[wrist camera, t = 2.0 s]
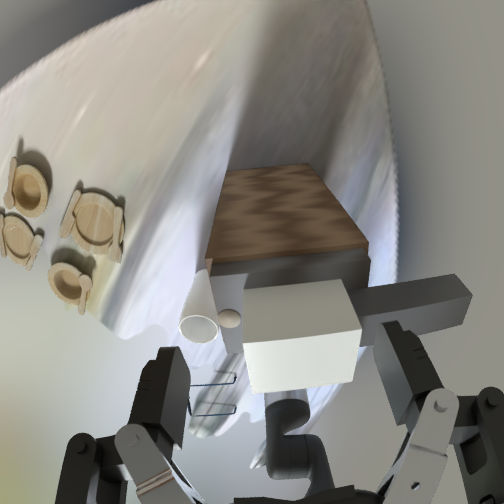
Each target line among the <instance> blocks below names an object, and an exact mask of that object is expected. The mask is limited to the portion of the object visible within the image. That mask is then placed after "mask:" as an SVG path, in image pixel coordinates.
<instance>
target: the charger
mask: <svg viewBox="0 0 504 504" xmlns="http://www.w3.org/2000/svg"><path fill="white" fill-rule="evenodd" d="M471 298H472V293H471V292H470V291H469V290H468V289H467V288H466V287H465V285H464V284H463V283H462V282H461V281H460V279H459V278H458V277H457V276H456V275H455V274H450V275H443V276H438V277H432V278H426V279H420V280H414V281H408V282H401V283H394V284H388V285H381V286H374V287H367V288H360V289H352V290H346V289H345V287H344V285H343V282H342V280H341V279H336V280H327V281H319V282H310V283H301V284H292V285H283V286H273V287H263V288H253V289H243V348H244V354H245V359H246V364H247V369H248V374H249V379H250V384H251V389H252V394H255V393H268V392H279V391H288V390H297V389H305V388H313V387H320V386H327V385H333V384H339V383H345V382H350V381H352V379H353V374H354V370H355V365H356V360H357V355H358V350H359V347H363V346H369V345H374V344H375V339H376V334H377V329H378V325H379V323H383V322H388V321H393V320H398V321H399V323H400V325H401V327H402V329H403V331H407V330H411V331H412V332H413V333H414V334H415V335H416V336H418V335H422V334H426V333H430V332H434V331H439V330H442V329H446V328H450V327H454V326H457V325H461V324H462V323H463V320H464V318H465V315H466V312H467V309H468V307H469V304H470V301H471Z"/></svg>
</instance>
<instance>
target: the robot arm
mask: <svg viewBox="0 0 504 504" xmlns="http://www.w3.org/2000/svg"><path fill="white" fill-rule="evenodd" d="M373 352H374V360H375V363H376V366H377V368H378V371H379V374H380V376H381V379H382V382H383V385H384V388H385V391H386V394H387V397H388V400H389V403H390V406H391V408H392V412H393V415H394V418H395V421H396V424H397V426H398V425H402V424H406V427H407V431H406V434H405V436H404V439H403V441H402V443H401V445H400V448H399V450H398V452H397V454H396V456H395V458H394V461H393V463H392V465H391V467H390V469H389V470H388V472H387V474H386V475H385V477H384V479H383V481H382V482H381V484H380V486H379V488H378V489H377V491H376V493H374V492H371V491H367V490H359V489H354V485H349V486H344V487H340V488H335V486H334V483H333V479H332V475H331V471H330V467H329V463H328V459H327V455H326V452H325V448H324V446H323V443H322V441H321V439H320V438H319V437H318V436H316V435H311V434H303V435H284V434H285V433H287V432H289V431H291V430H294V429H296V428H299V427H301V426H303V425H304V424H305V423H307V421H308V420H309V418H310V408H309V402H308V396H307V390H306V388H305V389H297V390H288V391H279V392H268V393H264V400H265V417H266V436H267V437H266V467H267V472H268V475H269V476H270V478H272V479H275V480H281V479H298V478H309V479H310V481H311V484H310V487H309V489H308V492H307V493H306V495H305V497H304V498H303V499H300V500H296V501H289V500H281V499H274V498H267V497H251V498H234V503H231V504H431V501H432V498H433V497H434V494H435V492H436V490H437V487H438V485H439V482H440V480H441V477H442V474H443V472H444V469H445V466H446V463H447V455H446V450H447V447H448V444H453V445H454V448H455V452H456V456H457V459H458V463H459V467H460V470H461V474H462V478H463V482H464V487H465V491H466V495H467V500H468V504H504V394H503V392H502V391H501V390H499V389H498V388H495V387H487V388H484V389H483V390H482V391H481V392H480V393H479V395H478V396H456V395H455V394H454V393H453V392H452V391H450V390H448V389H445V388H444V387H443V385H442V383H441V381H440V379H439V377H438V374H437V372H436V370H435V368H434V366H433V364H432V362H431V360H430V358H429V357H428V355H427V353H426V351H425V349H424V347H423V345H422V343H421V341H420V339H419V337H417V336H416V335H415V334H414V333H413V332H412V331H411V330H407V331H403V329H402V327H401V325H400V323H399V321H398V320H393V321H388V322H383V323H379V325H378V329H377V334H376V339H375V344H374V351H373ZM190 379H191V378H190V371H189V368H188V366H187V364H186V361H185V359H184V357H183V355H182V352H181V350H180V348H179V347H178V346H176V347H160V348H159V351H158V354H157V358H156V360H149V361H148V363H147V364H146V365H145V367H144V368H143V370H142V373H141V376H140V382H139V383H138V388H137V391H136V394H135V398H134V402H133V406H132V410H131V414H130V418H129V421H128V423H127V425H125V426H123V427H122V428H121V429H120V430H119V431H118V432H117V433H116V435H113V436H109V437H103V438H97V439H94V438H93V437H92V436H91V435H89V434H87V433H79V434H76V435H74V436H73V437H72V438H71V439H70V441H69V442H68V445H67V449H66V453H65V457H64V461H63V465H62V470H61V475H60V480H59V484H58V489H57V495H56V500H55V504H125V502H126V493H127V484H128V480H132V479H133V481H134V483H135V485H136V487H137V490H136V494H137V496H138V498H139V500H140V502H141V504H207V502H206V501H205V500H204V499H203V498H202V497H201V496H200V495H199V494H198V493H197V491H196V490H195V489H194V488H193V486H192V485H191V484H190V482H189V481H188V480H187V479H186V477H185V476H184V474H183V473H182V472H181V470H180V469H179V467H178V466H177V464H176V463H175V462H174V460H173V459H172V451H173V449H177V450H181V449H182V441H183V434H184V426H185V418H186V411H187V404H188V397H189V390H190V382H191V380H190Z"/></svg>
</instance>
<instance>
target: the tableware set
mask: <svg viewBox="0 0 504 504" xmlns="http://www.w3.org/2000/svg"><path fill="white" fill-rule="evenodd" d="M17 162H18V160H17V158H16V157H12V158H11V162H10V172H9V182H8V190H7V192H6V193H5V194H4V198H3V199H4V204H5V206H6V208H7V209H12V208H13V207H14V206H15V208H16V209H17V210H18V211H19V212H20V213H21V214H23V215H25V216H26V217H37V216H39V215H40V214H42V213H43V211H44V210H45V209H46V206H47V203H48V196H49V193H48V186H47V183H46V180H45V178H44V176H43V175H42V173H41V172H40V171H39V170H38V169H37V168H36V167H34V166H32V165H29V164H23V165H20V166H18V167H17ZM13 227H16V228H13ZM11 228H13V229H12V230H10V229H11ZM9 230H10V231H9ZM69 233H70V234H71V236H72V237H73V239H74V240H75V242H76V243H77V244H78V245H79V246H80V247H81V248H83V249H84V250H86V251H87V252H90V253H92V254H97V255H103V254H108V260H110V261H111V259H113V262H115V261H116V260H117V263H121V257H122V249H121V247H120V244H121V242H122V239H123V236H124V221H123V208H122V207H121V206H116V205H115V203H114V202H113V201H112V200H111V199H109V198H108V197H106V196H105V195H103V194H100V193H96V192H87V193H83V194H82V192H81V190H80V189H77V190H75V192H74V194H73V196H72V198H71V201H70V203H69V206H68V209H67V211H66V214H65V217H64V219H63V222H62V225H61V228H60V231H59V234H58V235H59V236H60V237H61V238H66V237H67V236H68V235H69ZM43 239H44V237H43V236H42V235H41V234H36V235H35V236H34V234H33V232H32V230H31V229H30V227H29V226H28V225H27V224H26V222H25V221H23V220H22V219H21V218H19V217H17V216H14V215H10V216H7V217H5V218H4V216H3V214H1V215H0V248H1V255H2V257H4V258H5V257H6V256H7V255H8V257H9V258H10V259H11V260H12V261H14V262H15V263H17V264H19V265H22V266H26V270H27V271H30V270H31V268H32V265H33V263H34V260H35V259H36V256H37V253H38V250H39V248H40V246H41V244H42V241H43ZM48 280H49V284H50V286H51V288H52V290H53V291H54V293H55V294H56V295H57V296H58V297H59V298H60V299H61V300H62V301H64V302H66V303H68V304H71V305H79V306H78V312H79V314H80V315H83V314H84V313H85V306H86V301H87V300H88V299H89V296H90V289H91V288H92V286H93V281H92V279H91V278H90V276H88V275H86V274H82V272H81V271H80V270H79V269H77V268H76V267H75V266H73V265H71V264H69V263H65V262H58V263H55V264H53V265H52V266H51V267H50V269H49V271H48Z"/></svg>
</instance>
